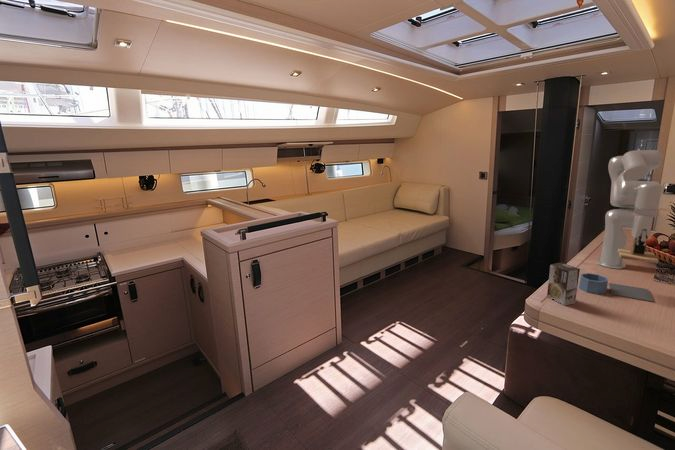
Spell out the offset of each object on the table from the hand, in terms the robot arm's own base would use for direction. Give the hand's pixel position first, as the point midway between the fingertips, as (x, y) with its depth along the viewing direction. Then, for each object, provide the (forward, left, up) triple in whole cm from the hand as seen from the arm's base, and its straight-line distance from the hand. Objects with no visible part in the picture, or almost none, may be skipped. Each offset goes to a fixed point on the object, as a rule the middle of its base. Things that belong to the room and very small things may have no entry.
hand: (637, 251), depth 144 cm
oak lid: (0, 0, -2) cm, 2 cm away
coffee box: (+24, -26, -20) cm, 41 cm away
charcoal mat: (0, 0, -20) cm, 20 cm away
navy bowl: (+4, -14, -20) cm, 25 cm away
